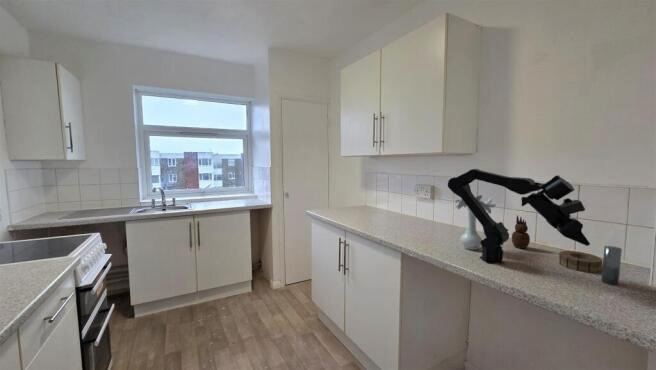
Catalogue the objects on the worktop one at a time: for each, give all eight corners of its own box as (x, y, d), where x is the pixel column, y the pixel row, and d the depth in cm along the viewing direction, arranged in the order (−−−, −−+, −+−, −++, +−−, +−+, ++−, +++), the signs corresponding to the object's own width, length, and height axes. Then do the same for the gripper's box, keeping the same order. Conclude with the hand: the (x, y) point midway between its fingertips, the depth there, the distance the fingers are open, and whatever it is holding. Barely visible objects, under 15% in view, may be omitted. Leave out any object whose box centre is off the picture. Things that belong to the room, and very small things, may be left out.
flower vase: (497, 248, 129) (500, 194, 126) (469, 254, 121) (471, 197, 119) (472, 240, 141) (474, 191, 138) (445, 245, 133) (447, 193, 130)
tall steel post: (609, 285, 92) (612, 249, 90) (597, 279, 96) (601, 245, 94) (621, 285, 91) (625, 249, 90) (609, 279, 95) (613, 245, 94)
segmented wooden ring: (576, 272, 102) (577, 262, 101) (551, 260, 113) (551, 250, 113) (610, 272, 101) (611, 261, 101) (581, 260, 113) (582, 250, 113)
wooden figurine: (508, 246, 132) (510, 214, 130) (517, 244, 134) (518, 213, 132) (523, 250, 125) (525, 217, 124) (531, 249, 127) (533, 216, 126)
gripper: (576, 195, 88) (621, 233, 84) (558, 188, 104) (595, 220, 101) (544, 218, 92) (585, 255, 88) (532, 208, 109) (566, 239, 105)
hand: (583, 241), depth 95 cm, fingers open, 9 cm apart
